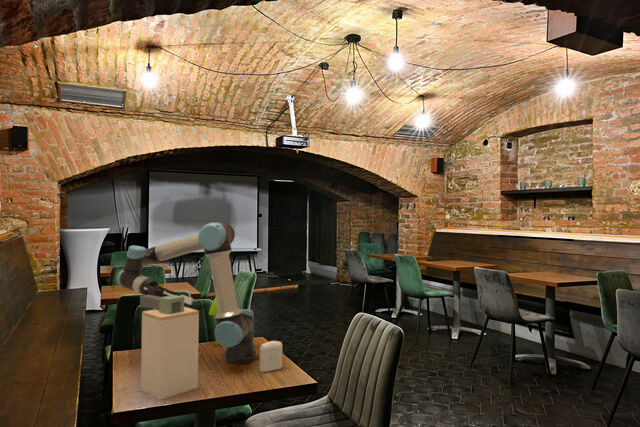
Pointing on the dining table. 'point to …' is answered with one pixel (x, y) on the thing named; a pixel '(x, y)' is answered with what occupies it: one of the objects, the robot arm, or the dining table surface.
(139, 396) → the dining table surface
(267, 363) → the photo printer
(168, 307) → the bar
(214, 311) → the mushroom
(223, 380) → the dining table surface
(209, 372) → the dining table surface
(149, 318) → the pedestal
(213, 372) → the dining table surface
